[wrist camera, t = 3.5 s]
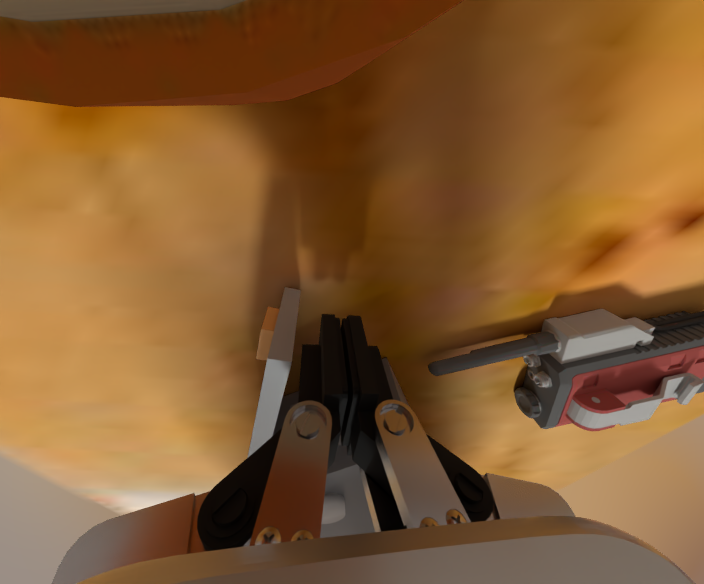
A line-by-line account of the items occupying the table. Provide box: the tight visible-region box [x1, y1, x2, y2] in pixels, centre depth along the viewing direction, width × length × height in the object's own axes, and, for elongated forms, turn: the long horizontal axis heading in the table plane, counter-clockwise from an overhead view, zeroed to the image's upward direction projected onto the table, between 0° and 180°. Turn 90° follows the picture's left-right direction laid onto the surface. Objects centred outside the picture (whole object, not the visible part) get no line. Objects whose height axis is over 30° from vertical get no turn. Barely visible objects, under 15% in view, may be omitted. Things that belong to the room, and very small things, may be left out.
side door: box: [247, 287, 301, 458], centre depth 12 cm, size 1×9×5 cm, turn 163°
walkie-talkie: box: [428, 309, 704, 431], centre depth 17 cm, size 9×4×20 cm
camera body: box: [273, 357, 410, 538], centre depth 17 cm, size 11×10×6 cm
